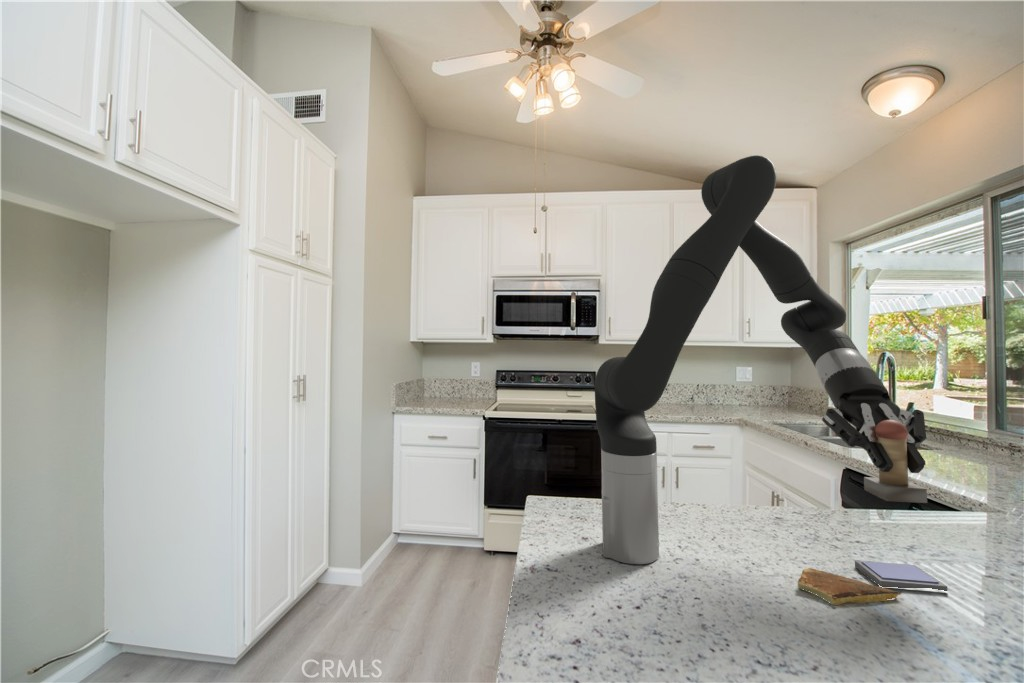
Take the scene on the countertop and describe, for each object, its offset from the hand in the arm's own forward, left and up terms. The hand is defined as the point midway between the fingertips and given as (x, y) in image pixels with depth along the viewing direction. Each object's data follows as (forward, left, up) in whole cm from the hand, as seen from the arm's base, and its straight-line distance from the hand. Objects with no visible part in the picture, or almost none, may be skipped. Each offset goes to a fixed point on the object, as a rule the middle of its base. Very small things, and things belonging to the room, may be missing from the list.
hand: (903, 469), depth 60 cm
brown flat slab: (-10, -2, -17) cm, 20 cm away
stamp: (0, +2, -4) cm, 5 cm away
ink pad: (0, +2, -17) cm, 17 cm away
